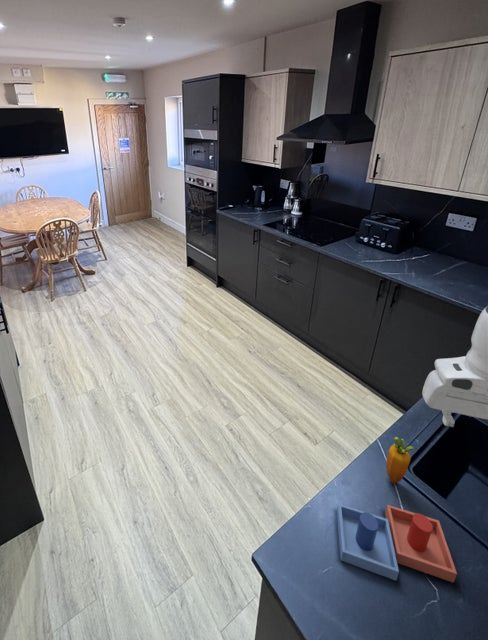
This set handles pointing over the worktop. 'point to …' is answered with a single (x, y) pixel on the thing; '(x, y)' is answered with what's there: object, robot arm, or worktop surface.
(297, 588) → the worktop surface
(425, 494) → the worktop surface
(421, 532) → the red peg
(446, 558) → the red bin
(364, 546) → the blue peg
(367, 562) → the blue bin
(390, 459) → the carrot
